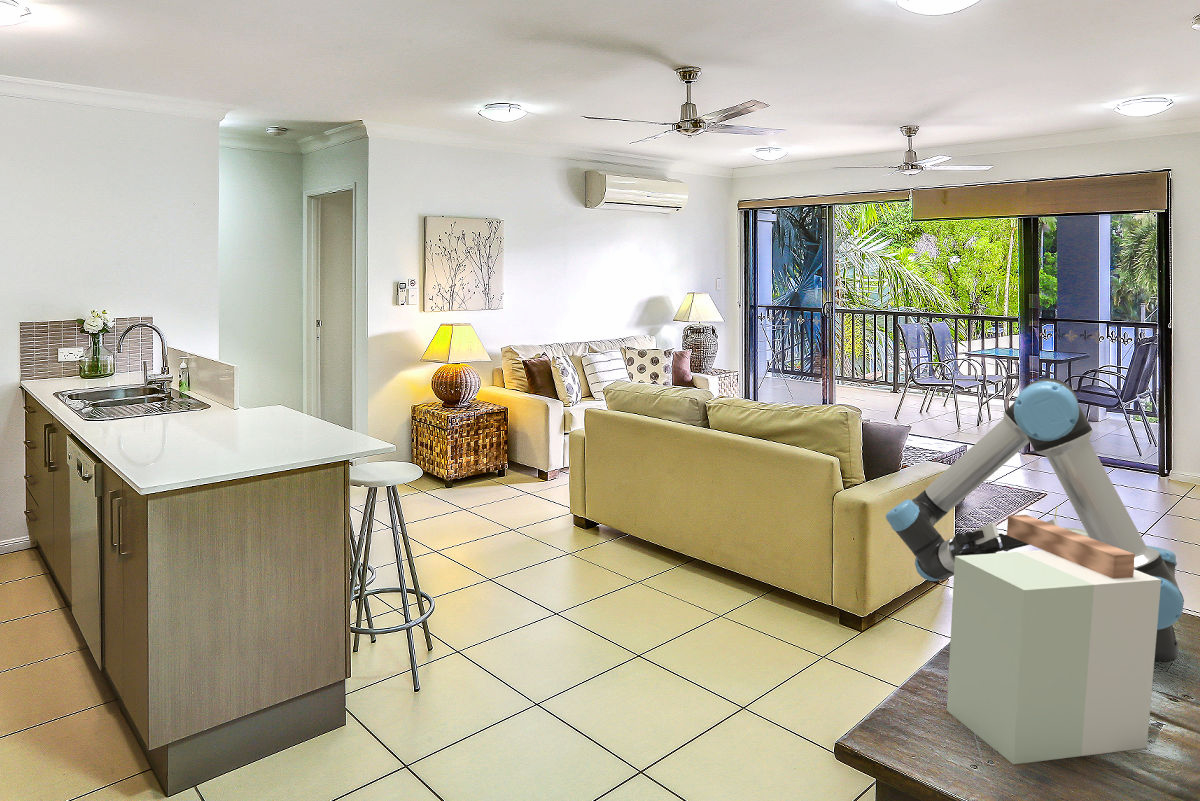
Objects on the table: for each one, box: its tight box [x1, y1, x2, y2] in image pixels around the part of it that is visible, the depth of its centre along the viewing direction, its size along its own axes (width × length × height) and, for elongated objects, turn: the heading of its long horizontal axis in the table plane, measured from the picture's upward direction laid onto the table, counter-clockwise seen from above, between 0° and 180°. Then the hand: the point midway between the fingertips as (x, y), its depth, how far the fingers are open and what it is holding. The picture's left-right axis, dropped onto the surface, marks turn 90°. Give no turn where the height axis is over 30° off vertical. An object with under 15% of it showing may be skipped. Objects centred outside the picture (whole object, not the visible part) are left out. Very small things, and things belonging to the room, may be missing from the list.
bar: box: [1006, 514, 1135, 579], centre depth 147 cm, size 26×4×4 cm, turn 11°
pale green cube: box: [946, 549, 1161, 765], centre depth 141 cm, size 18×26×30 cm
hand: (1026, 527), depth 156 cm, fingers open, 13 cm apart
